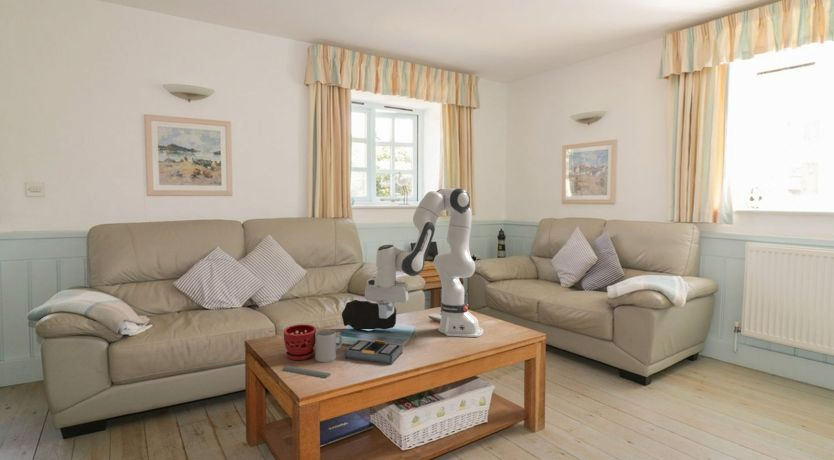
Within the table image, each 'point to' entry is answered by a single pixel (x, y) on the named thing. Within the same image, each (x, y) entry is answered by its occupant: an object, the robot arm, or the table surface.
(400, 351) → the rack
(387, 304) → the grey rectangular block
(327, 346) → the mug
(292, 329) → the plant pot
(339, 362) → the table surface
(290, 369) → the half round rod
